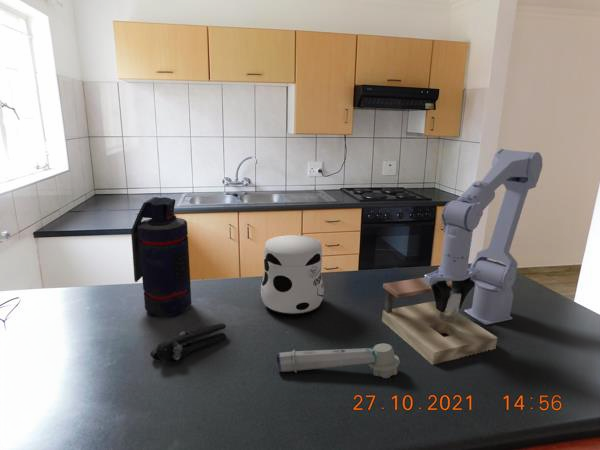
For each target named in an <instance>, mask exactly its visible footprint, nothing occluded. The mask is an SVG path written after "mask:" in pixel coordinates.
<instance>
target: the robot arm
mask: <svg viewBox="0 0 600 450" xmlns="http://www.w3.org/2000/svg"><path fill="white" fill-rule="evenodd" d="M491 161H492V162H491V168H490V169H489V170H488V172H487V173H486V174H485V175H484V177H483V178H482V180H477V181H476V180H475V181H474V182H473V183H472V184H471V185H470V186H469V187H468V188H467V189H466V190H465V191H463V193H462V194H461V195H460V196H459V197H458V198H457V199H456V200H454V199H453V200H450V201H448V202H446V204H445V205H444V207H443V209H442V213H441V215H440V216H441V217H440V218H441V219H440V220H441V222H442V232H443V233H444V235H443V236H444V237H443V243H442V252H441V259H440V266H438V269H436V270H435V271H432V272H430V273H426V274H424V276H423V277H424V283H425V284H427V285H429V286H431V288H432V290H433V292H432V293H433V297H434V301H435V303H436V309H437V310H439V311H440V312H444V311H445V309H446V304H447V299H448V296H449V294H450V292H451V290H452V288H456V289H458V290H460V291H461V293H462V294H461V299H460V305H459V310H461V307H462V305H463V303H464V302H465V299H466V297H467V296H468V295H469V292H470V291H471V290H472V289H473V288H474V290H473V291H474V292H473V298H472V304H471V305H472V306H471V308H467V309H464V310H463V313H466V314H467V315H469V316H470V317H472V318H474V319H475V320H477V321H478V322H480V323H482V324H483V325H485V326H487V325H492V324H496V323H502V322H505V321H510V320H513V316H511V312H512V305H513V300H514V292H513V289H512V287H513V285H514V284H515V282H516V281H515V280H516V278H517V269H518V261H517V260H516V259H515V258H514V256H513V255H512V254H511V253H510V250H511V246H512V243H513V240H514V237H515V233H516V230H517V227H518V224H519V220H520V217H521V214H522V211H523V208H524V205H525V202H526V198H527V195H528V192H529V190H532V189H535V188H536V187H537V184H538V182H539V178H540V175H541V172H542V169H543V157H542V155H541V153H540V152H538V151H533V152H531V151H521V150H509V149H504V148H499V149H498V150H497V151H496V152H495V154H494V155H493V157H492V160H491ZM502 185H504V187H505V192H504V196H503V199H502V202H501V205H500V208H499V212H498V214H497V217H496V220H495V221H496V222H495V225H494V227H493V231H492V234H491V238H490V241H489V245H488V247H487V248H484V249H481V250H479V251H478V252H477V253H476V255H475V258H474V260H473V261H472V263H471V265H470V267H469V261H470V252H471V246H472V239H473V233H474V230H475V229H476V228H478V225H479V224H480V221H481V219H482V216H483V214H484V210H485V209H486V208H487V207H488V206H489V204H491V202H493V200H494V199H495V197H496V192H495V191H496V190H497V189H498V188H499V187H501V186H502ZM490 259H491V260H490ZM500 262H501V263H500ZM447 281H452V288H451V287H449V286H447V284H446V282H447Z"/></svg>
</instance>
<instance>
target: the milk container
mask: <svg viewBox="0 0 600 450" xmlns="http://www.w3.org/2000/svg"><path fill="white" fill-rule="evenodd" d="M263 256H264V257H263V266H264V267H263V277H262V281H261V284H260V295H261V300H262V302H263V304H264V306H265V307H266V308H268V309H269V310H271V311H273V312H275V313H279V314H282V315H290V316H293V315H304V314H306V313H307V314H308V313H311V312H313V311H315V310H316V309H318V308H319V307H320V305H321V303H322V302H323V298H324V293H325V285H324V283H323V278H322V265H323V247H322V244H321V241H319V240H318V239H316V238H314V237H309V236H305V235H293V234H291V235H288V234H287V235H281V236H280V235H279V236H274V237H271V238H268V240H266V241H265V244H264V249H263Z"/></svg>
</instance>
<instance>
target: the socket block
mask: <svg viewBox="0 0 600 450" xmlns="http://www.w3.org/2000/svg"><path fill="white" fill-rule="evenodd" d="M446 284H447V286H449V287H451V288H452V281H447V282H446ZM382 288H383V289H384V290H385V296H384V297H385V298H384V306H383V307H384V308H383V310H382V315H381V316H382V317H381V321H382V323H383V324H385V325H386V326H387V327H389V329H391V330H392V331H393V332H394V333H395V334H396V335H398V336H399V337H400V339H402V340H403V341H405V342H406V343H407V344H408V345H409V346H410V347H411V348H412V349H414V350H415V351H416V352H417V353H418V354H419V355H421V356H422V358H424V359H425V360H426V361H427V362H429V363H430V364H431V366H433V365H437V364H440V363H445V362H449V361H453V360H457V359H461V357H462V358H465V356H466V357H469V355H470V356H473V354H474V355H477V353H478V354H481V352H482V353H485V351H486V352H489V351H488V350H490V351H493V349H494V350H496V347H497V343H498V337H497V336H496V335H495V334H493V333H491V332H489V331H488V330H486V329H485V328H483V327H482V326H480V325H479V324H477V323H475V322H474V321H472V320H471V319H469V318H468V317H466V316H465V315H463V314H461V313H460V312H458V317H457V321H456V322H454V323H448V322H445V321H442V320H441V319H440V318H439V314H440V311H439V310H437V309H436V303H435V300H434V301H433V300H432V301H428V302H423V303H418V304H412V305H405V306H401V307H400V306H399V307H395V308H393V303H394V297H395V298H397V299H400V298H405V297H413V296H417V295H423V294H428V293H429V294H430V293H433V290H432V288H431V286H429V285H427V284H425V283H424V276H423V277H417V278H411V279H406V280H405V279H404V280H398V281H392V282H386V283H383V284H382ZM442 334H446V335H447V336H444V335H442Z"/></svg>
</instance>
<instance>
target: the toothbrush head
mask: <svg viewBox="0 0 600 450" xmlns="http://www.w3.org/2000/svg"><path fill="white" fill-rule="evenodd" d="M276 355H277V356H276V364H277V371H278V373H288V372H294V373H295V374H296V373H298V371H300V372H301V371H308V370H319V369H327V368H337V367H338V368H339V367H345V366H346V367H347V366H356V365H365V364H368V367H370V370H371V371H370V372H371V374H372V375H374V376H375V377H382V379H390V378H391V376H396V375H397V374H398V372H399V365H400V364H401V363H400V359H399V356H398V355H396V354H395V351H394V349H393V346H392V345H391V344H389V343H384V342H383V343H378V344H375V345H374V347H367V348H365V347H364V348H363V347H362V348H343V349H342V348H339V349H321V350H320V349H319V350H318V349H317V350H296V349H292V351H283V352H277V353H276Z"/></svg>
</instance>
